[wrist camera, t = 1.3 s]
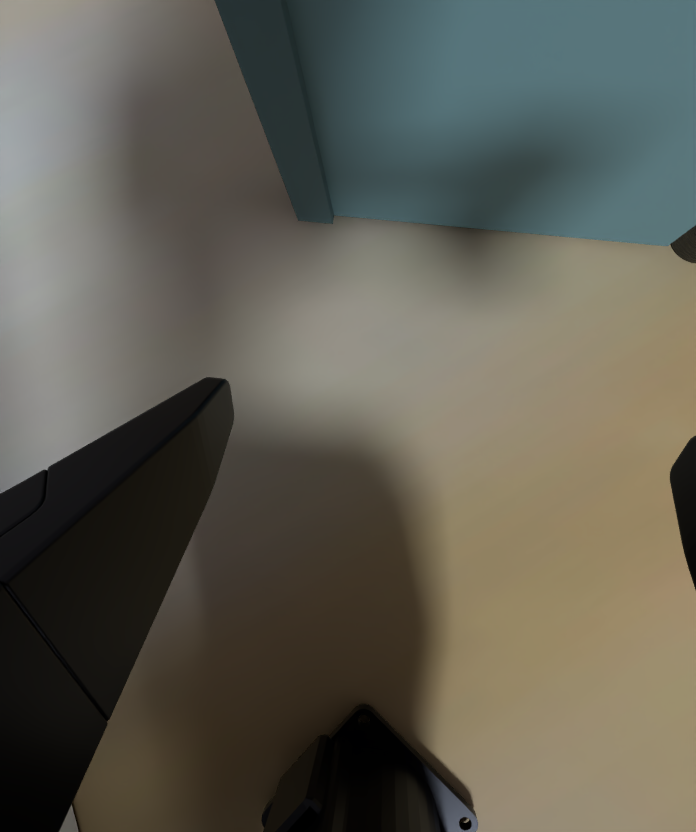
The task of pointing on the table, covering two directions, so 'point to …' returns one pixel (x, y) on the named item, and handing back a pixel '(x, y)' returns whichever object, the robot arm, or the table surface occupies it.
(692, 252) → the gate post
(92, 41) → the table surface
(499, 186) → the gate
